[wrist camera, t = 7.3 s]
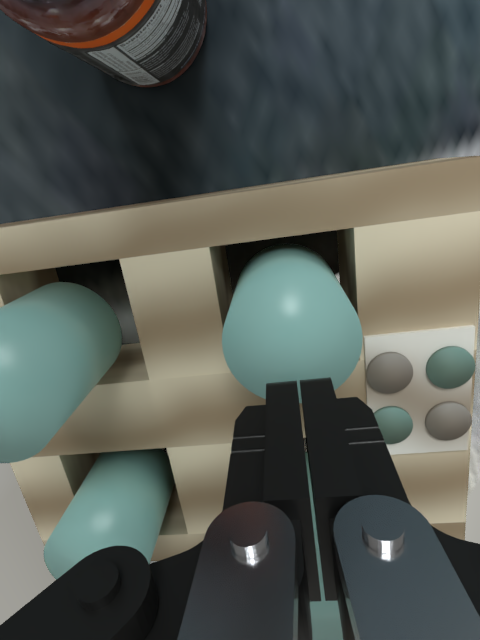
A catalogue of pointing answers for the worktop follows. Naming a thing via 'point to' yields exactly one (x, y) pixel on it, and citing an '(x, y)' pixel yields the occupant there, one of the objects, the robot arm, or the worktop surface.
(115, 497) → the button
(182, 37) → the supplement bottle
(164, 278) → the console
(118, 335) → the button
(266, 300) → the button
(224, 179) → the worktop surface
